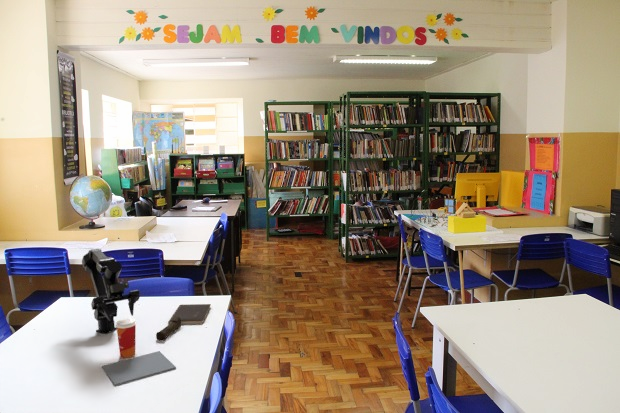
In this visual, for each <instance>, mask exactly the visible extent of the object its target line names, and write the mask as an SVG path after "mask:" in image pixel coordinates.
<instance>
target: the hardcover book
mask: <svg viewBox="0 0 620 413" xmlns="http://www.w3.org/2000/svg"><path fill="white" fill-rule="evenodd" d="M210 308H211V304H209V303H207V304H205V303H204V304H203V303H202V304H201V303H200V304H199V303H198V304H193V303H192V304H180V305H178V307H177V308H176V309H175V311H174V313H173V314H172V316H171V317H170V319H169V321H168V322H167V326H168V325H169V324H171V323H172V320H173V319H175V318H176V317H180V319H181V325H195V324H197V325H198V324H200V325H202V324H203V322H204V321H205V319H206V317H207V314H208V312H209V311H210Z"/></svg>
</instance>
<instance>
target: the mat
mask: <svg viewBox="0 0 620 413" xmlns="http://www.w3.org/2000/svg"><path fill="white" fill-rule="evenodd" d="M101 368H102V369H103V371H104V372H105V374H106V375H107V377H108V378H109V380H110V381H111V383H112V384H113V386H115V387H116V386H120V385H123V384H126V383H130V382H135V381H137V380H141V379H144V378H148V377H152V376H155V375H159V374H161V373H165V372H168V371H169V372H170V371H172V370H176V369H177V367H176V365H174V364H173V363H172V362H171V360H169V359H168V358H167V356H165V355H164V354H163V353H162V352H161V351H160V350H158V351H154V352H153V351H152V352H149V353H147V354H141V355H139V356H133V357H130V358H125V359H123V360H119V361H115V362H112V363H108V364H107V363H106V364H104V365H101Z"/></svg>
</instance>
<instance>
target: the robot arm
mask: <svg viewBox="0 0 620 413" xmlns="http://www.w3.org/2000/svg"><path fill="white" fill-rule="evenodd" d="M81 265H82V268H84V271H85V273H87V274H88V275H90V278H91V281H92V284H93V288H94V292H95V296H96V297H93V298H92V301H91V304H90V306H91V310H93V311H94V312H93V315H94V316H93V317H94V319H95V320H96V321H97V326H98V329H96V330H95V332H96V333H101V334H108V333H111V332H113V331H116V330H117V327H116V324H115V319H114V318H115V317H116V318H117V316H118V308H119V307H118V305H117V303H116V302H120V301H124V300H127V302H128V303H127V304H128V309H129V312H130V315H131V316H134V309H135V308H134V307H135V304H136V302H137V301H139V300H140V297H141V295H142V294H141V292H140V290H139V289H133V290H130V291H129V292H128V294H125V291H126V289H129V288H130V284H129V282H128V280H123V281H122V282H120V281H119V276H120V274H121V271H122V269H123V266H122V263H121V262H119V261H118V260H116V258H114V257H112V256H110V257H109V256H106V254H105V253H104V252H102V249H101V248H92V249H90V250H89V249H88V252H87V253H86V254H84V255H83V256H82V260H81ZM103 273H104V274H103ZM102 274H103V275H102Z"/></svg>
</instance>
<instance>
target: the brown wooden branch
mask: <svg viewBox="0 0 620 413" xmlns="http://www.w3.org/2000/svg"><path fill="white" fill-rule="evenodd" d="M181 325H182V324H181V319H180V317H176V318H175V319H173V320H172V323H171V324H169V325H168V324H167V326H165V327H164V328H162V329H161V330H160V331H157V332H156V334H155V335H156V336H155V338H156V340H157V341H164V340H165V339H166V338H167V337H168V336H169V335H171V334H172V332H174V331H175V330H178V329H179V328H180V327H181Z"/></svg>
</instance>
